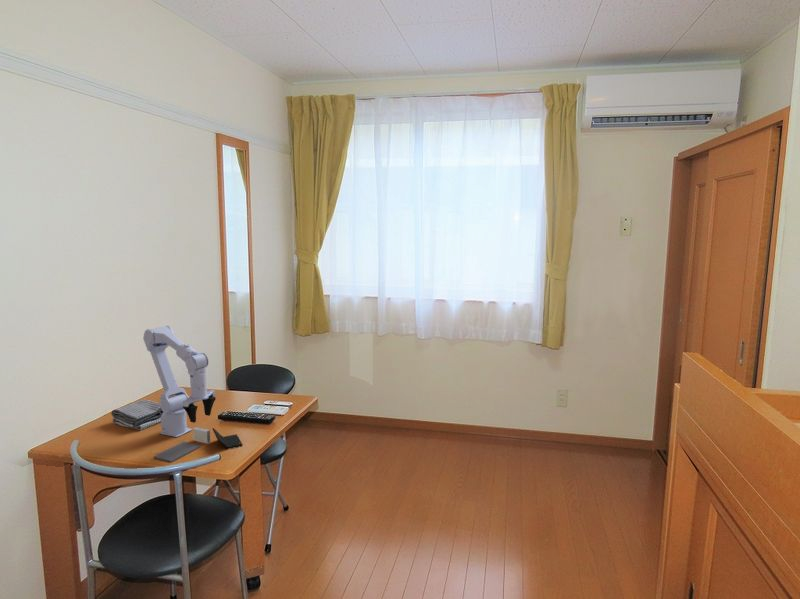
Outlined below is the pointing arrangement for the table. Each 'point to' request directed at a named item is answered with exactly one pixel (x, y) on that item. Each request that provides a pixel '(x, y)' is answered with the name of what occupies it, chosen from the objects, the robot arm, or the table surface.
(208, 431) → the card deck
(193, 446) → the grey rectangular slab
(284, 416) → the table surface
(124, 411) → the towel
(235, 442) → the handheld gaming console
